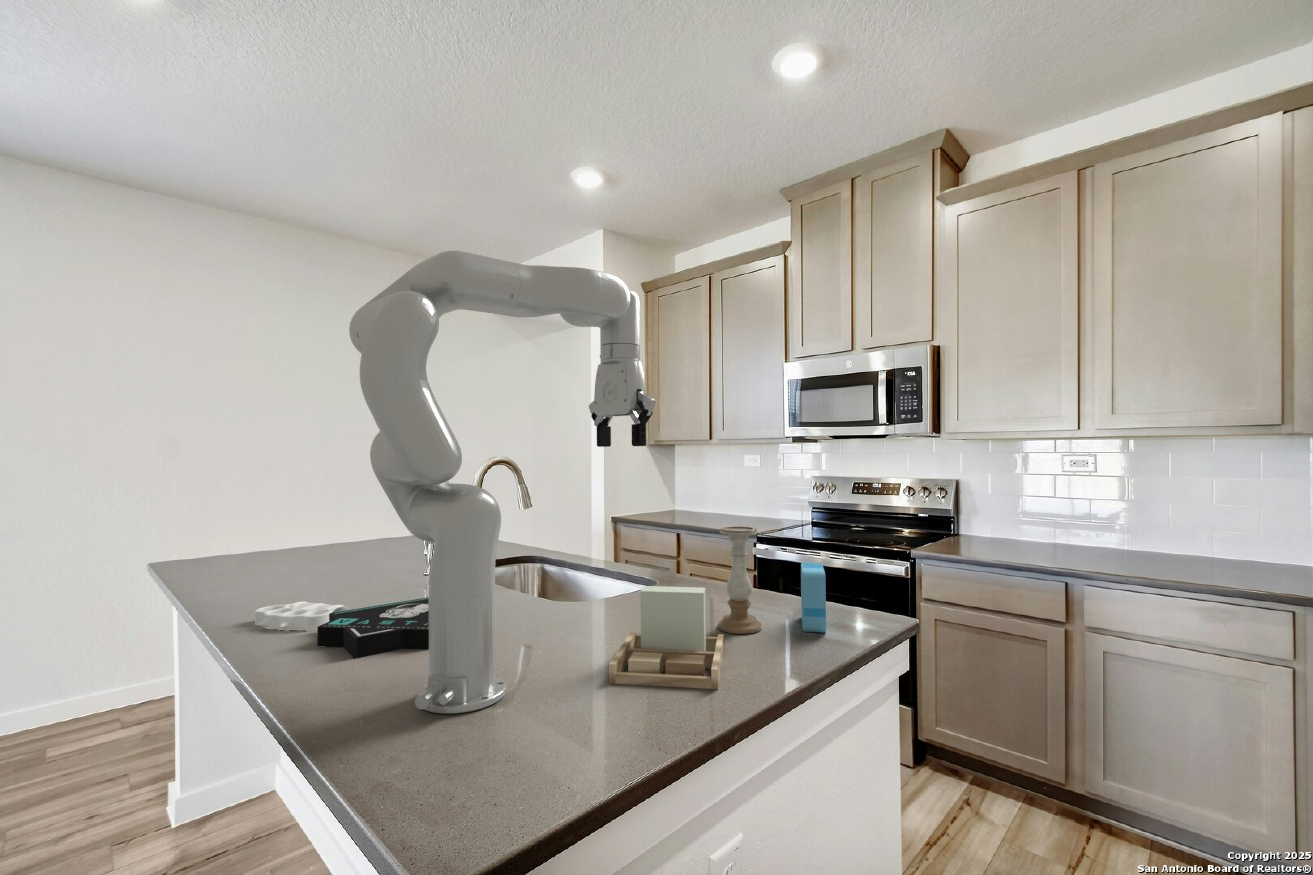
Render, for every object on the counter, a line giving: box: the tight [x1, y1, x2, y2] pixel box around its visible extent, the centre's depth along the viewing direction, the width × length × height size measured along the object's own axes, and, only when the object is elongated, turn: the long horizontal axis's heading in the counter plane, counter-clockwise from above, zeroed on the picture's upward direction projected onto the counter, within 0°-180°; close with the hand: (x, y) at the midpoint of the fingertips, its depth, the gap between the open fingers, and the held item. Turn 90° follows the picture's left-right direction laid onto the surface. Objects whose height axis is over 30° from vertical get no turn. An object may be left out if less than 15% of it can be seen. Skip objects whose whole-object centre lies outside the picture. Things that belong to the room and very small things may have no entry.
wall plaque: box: [316, 596, 429, 659], centre depth 122 cm, size 30×4×30 cm
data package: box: [800, 562, 827, 633], centre depth 125 cm, size 12×4×12 cm, turn 167°
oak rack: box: [608, 630, 725, 690], centre depth 102 cm, size 18×17×3 cm
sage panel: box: [640, 585, 707, 651], centre depth 106 cm, size 4×11×12 cm, turn 81°
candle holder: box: [717, 525, 762, 635], centre depth 123 cm, size 9×9×20 cm
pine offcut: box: [627, 652, 664, 674], centre depth 99 cm, size 4×5×3 cm
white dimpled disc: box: [254, 601, 349, 631], centre depth 130 cm, size 3×18×15 cm
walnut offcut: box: [664, 654, 706, 676], centre depth 98 cm, size 4×6×3 cm, turn 81°
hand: (621, 446), depth 114 cm, fingers open, 9 cm apart
